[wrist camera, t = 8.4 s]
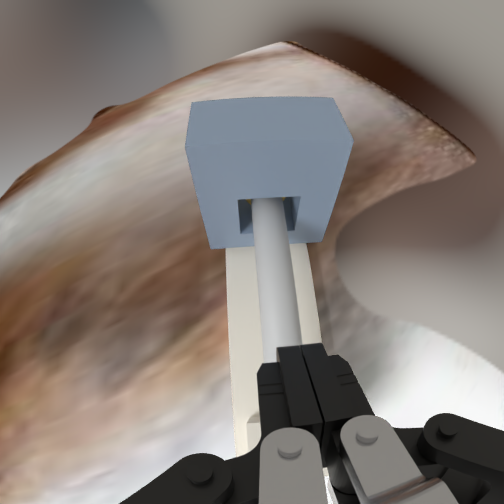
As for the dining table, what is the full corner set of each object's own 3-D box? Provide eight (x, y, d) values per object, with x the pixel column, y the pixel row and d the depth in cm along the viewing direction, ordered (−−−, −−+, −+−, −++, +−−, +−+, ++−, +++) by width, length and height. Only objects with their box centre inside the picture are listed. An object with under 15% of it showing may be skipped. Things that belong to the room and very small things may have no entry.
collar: (321, 241, 21) (353, 140, 13) (210, 249, 21) (185, 147, 13) (312, 198, 23) (332, 97, 15) (211, 204, 23) (191, 102, 15)
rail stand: (331, 450, 16) (363, 467, 10) (236, 460, 15) (226, 485, 10) (289, 165, 27) (295, 109, 22) (224, 169, 27) (217, 112, 21)
